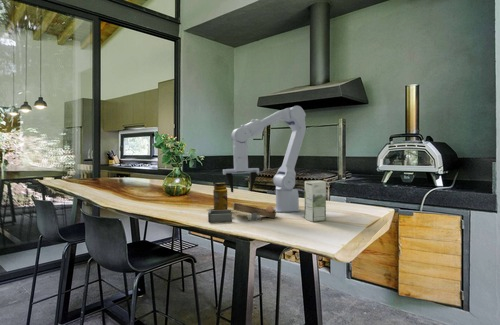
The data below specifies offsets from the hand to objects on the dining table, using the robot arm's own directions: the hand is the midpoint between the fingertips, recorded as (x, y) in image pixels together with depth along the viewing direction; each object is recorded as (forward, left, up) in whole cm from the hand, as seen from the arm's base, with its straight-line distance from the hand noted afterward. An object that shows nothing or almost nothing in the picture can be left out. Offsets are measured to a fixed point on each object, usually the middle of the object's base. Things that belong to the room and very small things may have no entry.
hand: (241, 191), depth 128 cm
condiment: (+10, -10, -10) cm, 17 cm away
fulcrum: (-4, +7, -9) cm, 12 cm away
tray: (+9, +7, -9) cm, 15 cm away
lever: (-4, +3, -7) cm, 9 cm away
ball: (-10, +7, -7) cm, 14 cm away
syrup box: (-26, +14, -10) cm, 31 cm away
